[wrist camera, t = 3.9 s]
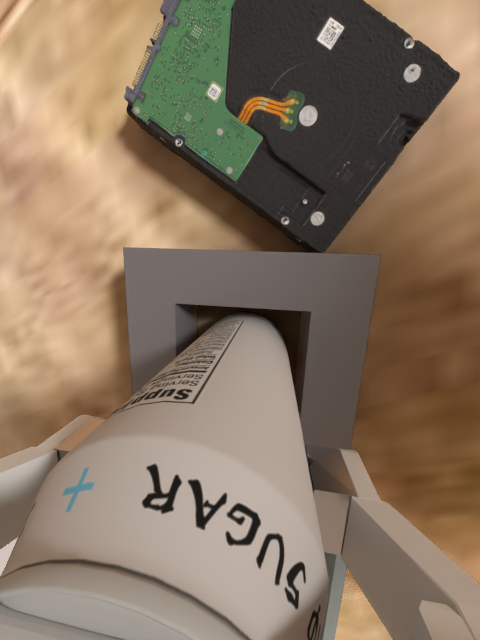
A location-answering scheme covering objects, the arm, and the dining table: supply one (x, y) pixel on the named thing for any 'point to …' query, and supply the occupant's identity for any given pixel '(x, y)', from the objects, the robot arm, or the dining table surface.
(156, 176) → the dining table surface
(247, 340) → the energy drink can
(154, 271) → the socket block
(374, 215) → the dining table surface
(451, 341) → the dining table surface
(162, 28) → the disk drive
